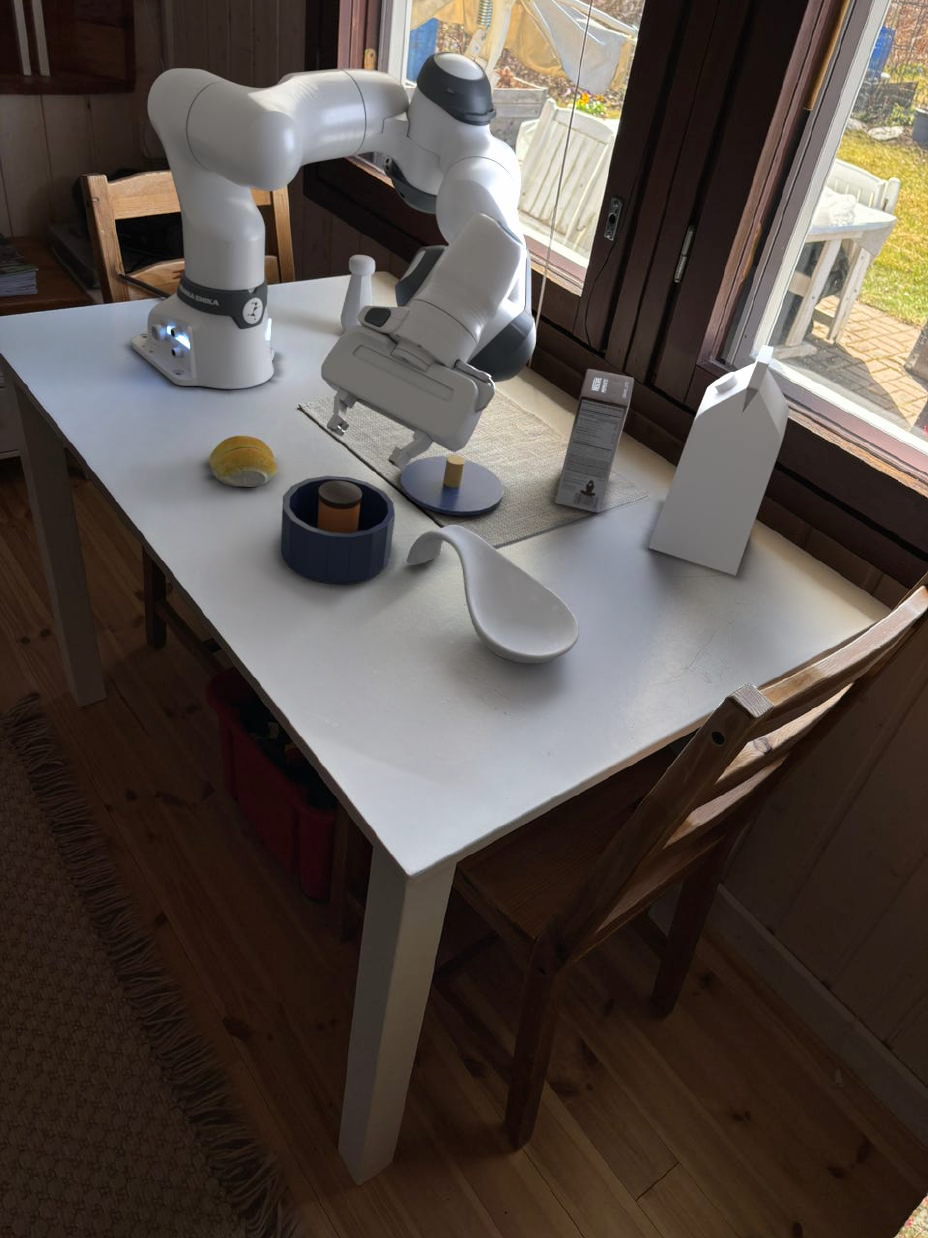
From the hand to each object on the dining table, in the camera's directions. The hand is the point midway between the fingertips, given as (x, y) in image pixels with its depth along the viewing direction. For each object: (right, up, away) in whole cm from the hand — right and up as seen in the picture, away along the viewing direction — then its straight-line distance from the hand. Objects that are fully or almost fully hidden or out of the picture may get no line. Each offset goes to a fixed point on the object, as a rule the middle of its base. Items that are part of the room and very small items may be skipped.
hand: (363, 448), depth 107 cm
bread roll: (-17, 0, +16) cm, 23 cm away
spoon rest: (+13, -19, 0) cm, 23 cm away
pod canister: (-4, -11, +4) cm, 12 cm away
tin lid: (+10, -2, +19) cm, 21 cm away
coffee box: (+27, -2, +24) cm, 37 cm away
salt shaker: (-7, +29, +55) cm, 63 cm away
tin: (-4, -11, +5) cm, 13 cm away
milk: (+42, -9, +19) cm, 48 cm away
